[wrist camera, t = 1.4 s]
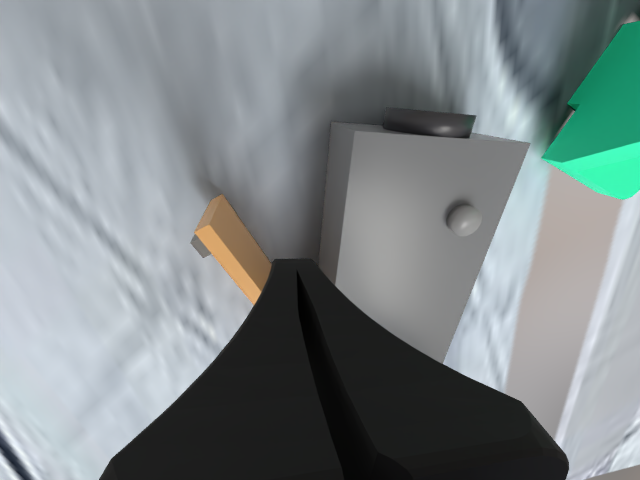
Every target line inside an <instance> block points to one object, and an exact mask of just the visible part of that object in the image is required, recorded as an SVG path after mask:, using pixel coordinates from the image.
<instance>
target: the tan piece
mask: <svg viewBox="0 0 640 480" xmlns="http://www.w3.org/2000/svg"><path fill="white" fill-rule="evenodd" d="M194 233H195V235H194V237H193V239H192V241H191V244H192V245H193V247H194V248H195V249H196V250H197V251H198V253H199V254H200V255H201V256H202V257H203V258H204V257H206V256H208V255H210V254H212V255H213V256H214V257H215V258H216V260H217V261H218V262H219V263H220V264H221V266H222V267H223V268H224V269H225V271H226V272H227V273H228V274H229V275H230V277H231V278H232V279H233V280H234V282H235V283H236V284H237V285H238V286H239V288H240V289H241V290H242V291H243V293H244V294H245V295H246V296H247V297H248V299H249V300H250V301H251V302H252V304H253V305H255V303H256V301H257V299H258V298H259V296H260V294H261V292H262V290H263V288H264V285H265V283H266V281H267V279H268V276H269V273H270V270H271V266H272V264H271V263H270V261H269V260H268V258H267V257H266V256H265V254H264V253H263V251H262V250H261V248H260V247H259V246H258V244H257V243H256V241H255V240H254V238H253V237H252V236H251V234H250V233H249V231H248V230H247V228H246V227H245V226H244V224H243V223H242V221H241V220H240V218H239V217H238V215H237V214H236V213H235V211H234V210H233V208H232V207H231V205H230V204H229V203H228V201H227V200H226V198H225V197H224V195H223V194H222V195H220V196H218V197H216V198H214V199H212V200H211V201H210V203H209V205H208V207H207V209H206V211H205V212H204V214H203V216H202V218H201V220H200V222H199V224H198V226H197V228H196V230H195V231H194Z"/></svg>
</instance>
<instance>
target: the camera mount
mask: <svg viewBox="0 0 640 480" xmlns="http://www.w3.org/2000/svg"><path fill="white" fill-rule="evenodd" d="M567 104H568V105H570V106H571V107H572V108H574V109H575V112H574V114H573V115H572V116H571V118H570V119H569V121H568V122H567V123H566V125H565V126H564V127H563V129H562V130H561V132H560V133H559V134H558V136H557V137H556V138H555V140H554V141H553V142H552V144H551V145H550V147H549V148H548V149H547V151H546V152H545V153H544V155H543V156H542V159H543V160H545V161H547V162H548V163H550V164H552V165H553V166H555V167H557V168H558V169H560V170H562V171H563V172H565V173H566V174H568V175H570V176H571V177H573V178H574V179H576V180H578V181H579V182H581V183H583V184H584V185H586V186H588V187H589V188H591V189H593V190H594V191H596V192H598V193H601V194H604V195H608V196H611V197H615V198H618V199H627V198H630V197H632V196H633V195H634V194H636V193H637V192H638V191H639V190H640V21H637V22H632V23H627V24H623V26H622V27H621V29H620V30H619V31H618V33H617V34H616V36H615V37H614V38H613V40H612V41H611V43H610V44H609V45H608V47H607V48H606V50H605V51H604V52H603V54H602V55H601V57H600V58H599V59H598V61H597V62H596V64H595V65H594V66H593V68H592V69H591V71H590V72H589V73H588V75H587V76H586V78H585V79H584V80H583V82H582V83H581V85H580V86H579V87H578V89H577V90H576V92H575V93H574V95H573V96H572V97H571V99H570V100H569V102H568V103H567Z"/></svg>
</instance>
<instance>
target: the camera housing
mask: <svg viewBox="0 0 640 480" xmlns="http://www.w3.org/2000/svg"><path fill="white" fill-rule="evenodd" d="M475 119H476V115H465V114H455V113H444V112H433V111H421V110H410V109H398V108H386V111H385V117H384V123H383V125H370V124H356V123H343V122H331V128H330V139H329V150H328V161H327V173H326V184H325V195H324V206H323V217H322V229H321V240H320V251H319V262H318V267H319V268H320V269H321V271H322V272H323V273H324V274H325V275H326V276H327V277H328V278H329V280H330V281H331V282H332V283H333V284H334V285H335V286H336V287H337V288H338V289H339V290H340V291H341V292H342V293H343V294H344V295H345V296H346V297H347V298H348V299H349V300H350V301H351V302H352V303H354V304H355V305H356V306H357V307H358V308H359V309H360V310H362V311H363V312H364V313H365V314H366V315H368V316H369V317H370V318H372V319H373V320H374V321H376V322H377V323H378V324H380V325H381V326H382V327H384V328H385V329H386V330H388V331H389V332H391V333H392V334H394V335H395V336H396V337H398V338H400V339H401V340H403V341H404V342H406V343H408V344H409V345H411V346H412V347H414V348H415V349H417V350H419V351H420V352H422V353H424V354H426V355H427V356H429V357H431V358H433V359H434V360H436V361H438V362H440V363H442V364H443V361H444V359H445V356H446V354H447V351H448V349H449V346H450V344H451V341H452V339H453V336H454V334H455V331H456V329H457V326H458V324H459V321H460V319H461V316H462V314H463V311H464V309H465V306H466V304H467V301H468V299H469V296H470V294H471V291H472V289H473V286H474V284H475V281H476V279H477V276H478V274H479V271H480V269H481V266H482V264H483V261H484V259H485V256H486V254H487V251H488V249H489V246H490V244H491V241H492V238H493V236H494V233H495V231H496V228H497V226H498V223H499V221H500V218H501V216H502V213H503V211H504V208H505V206H506V203H507V201H508V198H509V196H510V193H511V191H512V188H513V186H514V183H515V181H516V178H517V176H518V173H519V171H520V168H521V166H522V163H523V161H524V158H525V156H526V153H527V151H528V148H529V146H530V143H527V142H521V141H515V140H510V139H504V138H499V137H493V136H488V135H482V134H477V133H471V132H472V129H473V125H474V122H475Z"/></svg>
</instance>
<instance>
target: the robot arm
mask: <svg viewBox="0 0 640 480" xmlns="http://www.w3.org/2000/svg"><path fill="white" fill-rule="evenodd" d="M568 470H569V462H568V459H567V456H566V454H565V453H564V452H563V451H562V449H561V448H560V447H559V446H558V445H557V443H556V442H555V441H554V440H553V439H552V437H551V436H550V435H549V434H548V433H547V431H546V430H545V429H544V428H543V427H542V425H540V423H539V422H538V421H537V420H536V418H535V417H534V416H533V415H532V414H531V412H530V411H529V410H528V409H527V408H526V407H525V405H524V404H523V403H522V402H521V401H519V400H517V399H515V398H512V397H510V396H508V395H506V394H504V393H501V392H499V391H497V390H495V389H493V388H491V387H488V386H486V385H484V384H482V383H480V382H477V381H475V380H473V379H471V378H469V377H467V376H465V375H463V374H461V373H459V372H457V371H455V370H453V369H451V368H449V367H447V366H446V365H444V364H442V363H440V362H438V361H436V360H434V359H433V358H431V357H429V356H427V355H426V354H424V353H422V352H420V351H419V350H417V349H415V348H414V347H412V346H411V345H409V344H408V343H406V342H404V341H403V340H401V339H400V338H398V337H396V336H395V335H394V334H392V333H391V332H389V331H388V330H386V329H385V328H384V327H382V326H381V325H380V324H378V323H377V322H376V321H374V320H373V319H372V318H370V317H369V316H368V315H366V314H365V313H364V312H363V311H362V310H360V309H359V308H358V307H357V306H356V305H355V304H354V303H352V302H351V301H350V300H349V299H348V298H347V297H346V296H345V295H344V294H343V293H342V292H341V291H340V290H339V289H338V288H337V287H336V286H335V285H334V284H333V283H332V282H331V281H330V280H329V278H328V277H327V276H326V275H325V274H324V273H323V272H322V271H321V269H320V268H319V267H318V266H317V265H316V264H315V262H314V261H313V260H312V259H275V260H274V261H273V262H272V266H271V270H270V273H269V276H268V279H267V281H266V283H265V285H264V288H263V290H262V292H261V294H260V296H259V298H258V299H257V301H256V303H255V305H254V306H253V308H252V310H251V311H250V313H249V315H248V316H247V318H246V319H245V321H244V322H243V324H242V325H241V327H240V328H239V329H238V331H237V332H236V334H235V335H234V336H233V338H232V339H231V340H230V342H229V343H228V344H227V345H226V346H225V348H224V349H223V350H222V351H221V353H220V354H219V355H218V356H217V357H216V359H215V360H214V361H213V362H212V363H211V364H210V365H209V367H208V368H207V369H206V370H205V371H204V372H203V373H202V374H201V375H200V376H199V377H198V378H197V379H196V380H195V381H194V382H193V383H192V384H191V385H190V386H189V387H188V388H187V390H186V391H185V392H184V393H183V394H182V395H181V396H180V397H179V398H178V399H177V400H176V401H175V402H174V403H173V404H172V405H171V406H170V407H169V408H167V409H166V410H165V411H164V412H163V413H162V414H161V415H160V416H159V417H158V418H157V419H155V420H154V421H153V422H152V423H151V424H150V425H149V426H148V427H147V428H145V429H144V430H143V431H142V432H141V433H140V434H139V435H138V436H136V437H135V438H134V439H133V440H132V441H131V442H130V443H129V444H128V445H126V446H125V447H124V448H123V449H122V450H121V451H120V452H118V453H117V454H116V455H115V456H114V457H113V458H112V459H111V460H110V462H109V464H108V465H107V467H106V469H105V470H104V472H103V474H102V475H101V477H100V479H99V480H565V479H566V477H567V474H568Z"/></svg>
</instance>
